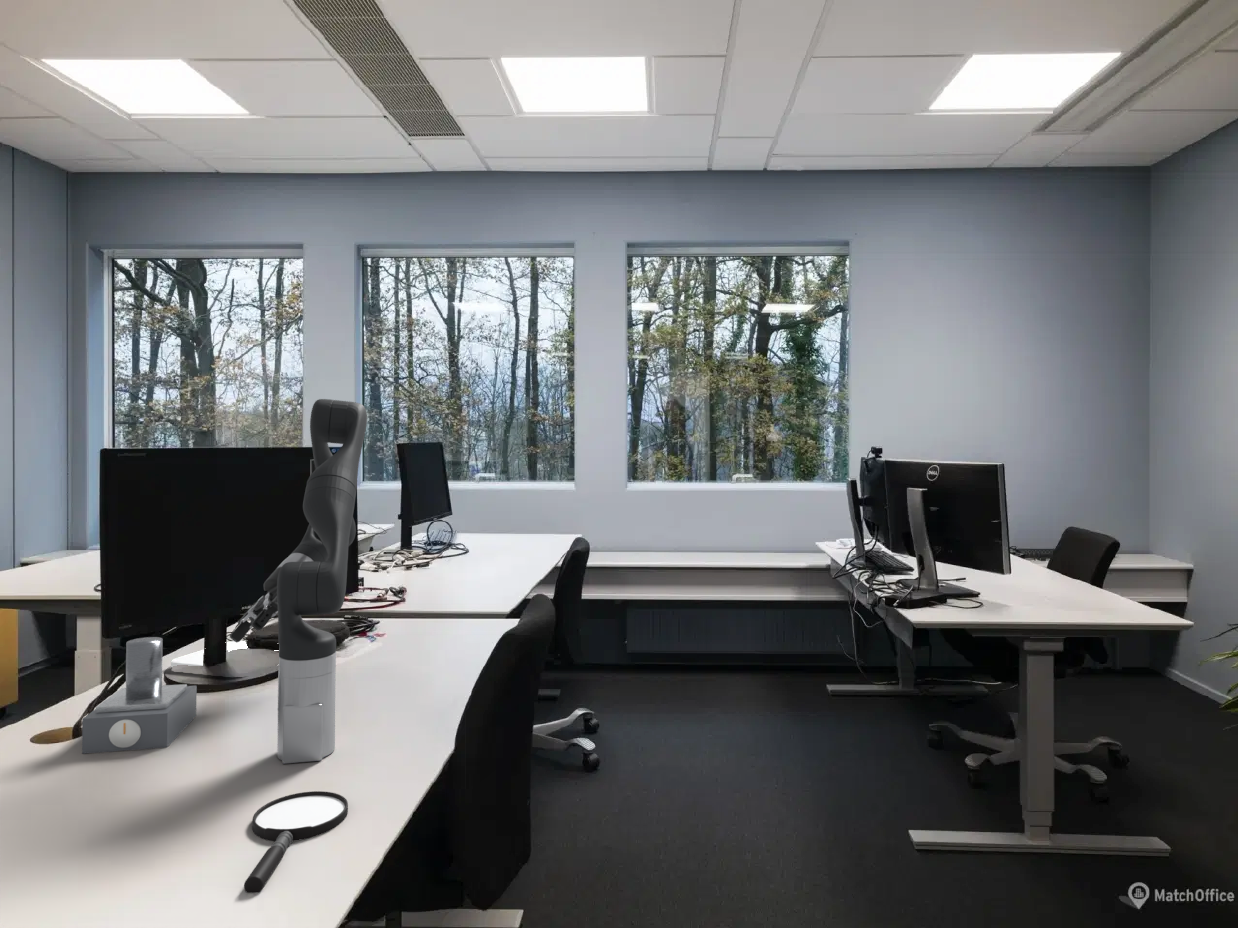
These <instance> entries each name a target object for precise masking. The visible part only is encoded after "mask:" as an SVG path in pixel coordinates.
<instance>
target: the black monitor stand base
mask: <svg viewBox="0 0 1238 928" xmlns="http://www.w3.org/2000/svg"><path fill="white" fill-rule="evenodd" d="M245 641H246V640H241V641H239V642H235V641H233V640H231V641H226V642H227V650H228V652H230V651H232V650H237V649H247V648H248V646H247V644H246V642H245ZM204 649H205V648H203V649H201V650H198V651H194V652H191V653H188V654H185V655H181V656H179V657H175V658H172V660H171V661H170V668H171V667H173V666H177V665H188V666H203V653H204ZM274 651H279V650H274Z"/></svg>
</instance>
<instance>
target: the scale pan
mask: <svg viewBox="0 0 1238 928" xmlns="http://www.w3.org/2000/svg"><path fill="white" fill-rule="evenodd" d="M187 686H188V684H187V683H185V684H165V685H162V693H161V694H160V695H158V696H156V697H152V698H148V699H141V700H129V699H126V687H121V688H120V689H118V690H117V691H115V692H114V693H113V694H111V695H110V696H109V697H108V698H106V699H104V701H102V702H100V703H99V704H98V705H97V706H96V707H95V709H96V713H103V712H118V711H134V710H150V709H166V708H167V707H168V706H170V705H171V704H172V703H173V702H174V701H175V700H176V699H177V698H178V697H179V696H180V695H181V694H182V693H183V692H184V691H186V690H187Z"/></svg>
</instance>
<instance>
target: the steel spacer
mask: <svg viewBox="0 0 1238 928" xmlns="http://www.w3.org/2000/svg"><path fill="white" fill-rule="evenodd" d="M163 641H164V640H163V637H159V636H148V637H139V638H134V639H130V640H128V641H126V644H125V646H126V649H125V650H126V653H125V688H126V699H129V700H141V699H148V698H152V697H156V696H158V695H160V694H161V693H162V686H163Z"/></svg>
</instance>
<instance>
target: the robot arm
mask: <svg viewBox="0 0 1238 928" xmlns="http://www.w3.org/2000/svg"><path fill="white" fill-rule="evenodd" d="M309 420H310V421H309V431H310V433H309V434H310V441H311V447H312V448H311V450H312V454H313V455H312V457H313V462H314V468H315V470H314V471H313V472H312V473H311V474H310V475H309V477H308V479H307V481H306V487H305V490H304V491H305V492H304V496H303V502H302V510H303V511H302V512H303V514H304V517H305V519H306V521H307V523H309V524H308V526H307V529H306V532H305V534H304V535H303V538H302V539H301V541H300V543H299V544H298V545H297V547H296V548H295V549H294V550H293V551H292V552H291V553H290V554H289V555H288V557H286V558H285V559H284V560H283V561H282V562H281V563H280V564H279V565H278V566H277V567H276V568H275V570H273V572H272V573H271V574H270V575H269V576H268V578H267V579H266V580H264V583H263V590H264V592H265V595H262V596H261V597H260V598H259V599H258V600H257V601H256V602H253V604H252V605H251V606H250V608H248V610H247V611H246V612H245V613H244V615H243V616H241V618H240V619H238V621H237V624H238V625H237V626H236V627H235V629H234V630H233V631H232V632H231V634H230V635H229V639H231V641H235V642H239V641H242V640H243V638H244V637H245V636H246V635H247V633H248V632H249V631H250V630H252V629H254V630H256V631H257V632H260V631H261V630H263V629H264V627H265V626H266V625H267V623H269V621H270V620H271V618H274V617H275V616H276V615H278V616H277V618H278V619H277V623H278V624H277V625H278V627H277V629H278V636H277V637H278V644H279V664H278V665H277V666H278V673H277V674H278V677H277V679H278V680H277V750H276V751H277V755H276V756H277V758H278V759H279V760H281V763H282V764H283V765H284V764H297V763H306V762H308V763H309V762H317V761H318V762H319V761H322V760H323V758H325V757H327V756H329V755H331V754H332V753H333V752H334V751H335V748H336V689H337V688H336V685H337V684H336V681H337V677H336V676H337V675H336V674H337V673H336V672H337V671H336V669H337V639H336V638H337V637H336V636H335V635H334V634H333V633H331V632H329V631H326V630H323V629H320V628H317V627H315V626H313V625H310V624H309V623H308V622H307V621H305V620H304V619H303V618H302V616H313V615H314V616H315V615H316V616H317V615H318V616H319V615H333V614H336V613H338V612H339V611H341V609H342V607H343V606H344V602H345V598H346V592H347V579H348V578H347V577H348V561H349V547H350V546H351V545H352V544H353V542H354V540H355V538H356V533H357V527H356V522H355V519H354V512H355V511H354V510H355V506H356V505H355V504H356V497H357V488H358V487H357V486H358V475H359V466H360V465H359V464H360V458H361V454H362V449H363V444H364V441H365V440H364V439H365V435H366V430H367V425H368V424H367V423H368V415H367V410H366V407H365V406H364V404H362V403H359V402H356V401H355V402H354V401H350V400H349V401H348V400H347V401H346V400H338V399H328V398H319V399H317V400H315V401H314V403H313V404H312V408H311V413H310V419H309ZM329 444H339V445H341V446H340V448H339V449H338V450H337V451H336V452H335V453H334V454H333V453H332V451H331V450H330V447H329ZM248 619H249V620H250V622H249V621H248Z"/></svg>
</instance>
